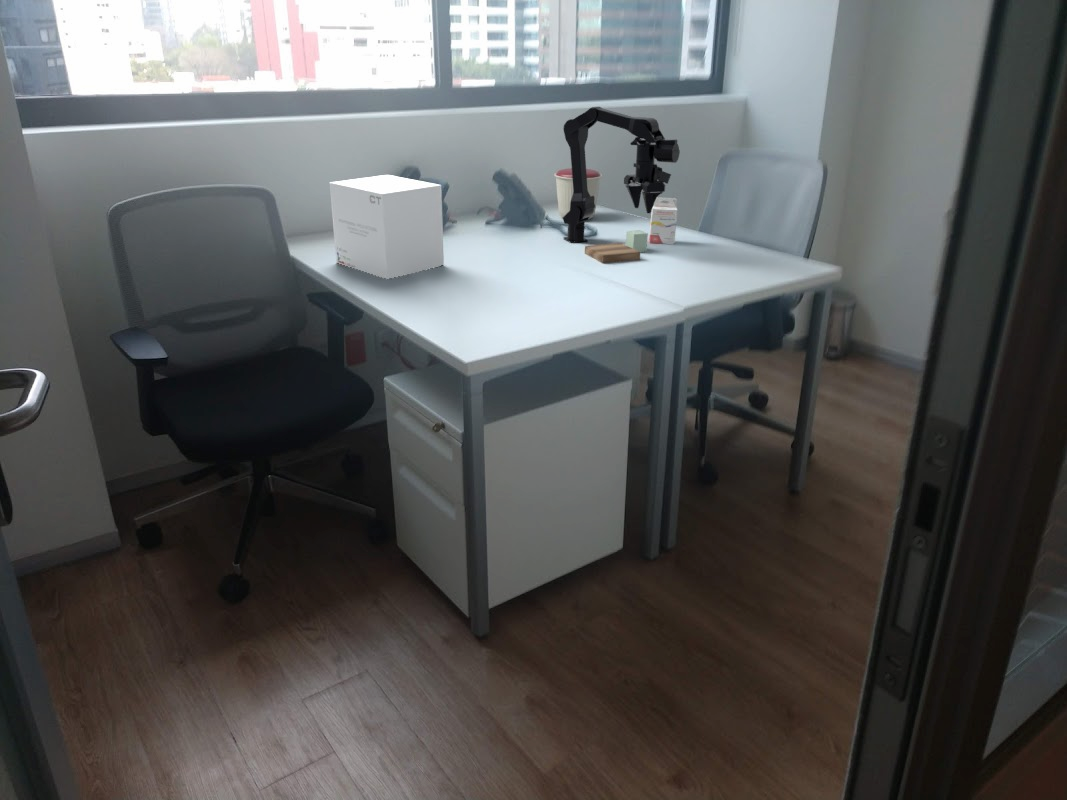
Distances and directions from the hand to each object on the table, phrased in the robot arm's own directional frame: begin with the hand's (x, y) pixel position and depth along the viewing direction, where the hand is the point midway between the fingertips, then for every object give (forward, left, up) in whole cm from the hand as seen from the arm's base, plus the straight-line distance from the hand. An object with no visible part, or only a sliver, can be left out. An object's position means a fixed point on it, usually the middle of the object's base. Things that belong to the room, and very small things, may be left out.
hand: (642, 210), depth 261 cm
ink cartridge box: (-8, +13, -13) cm, 20 cm away
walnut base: (+4, -13, -14) cm, 19 cm away
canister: (-53, +2, -13) cm, 55 cm away
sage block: (-1, -1, -13) cm, 13 cm away
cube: (-10, -81, -14) cm, 83 cm away
